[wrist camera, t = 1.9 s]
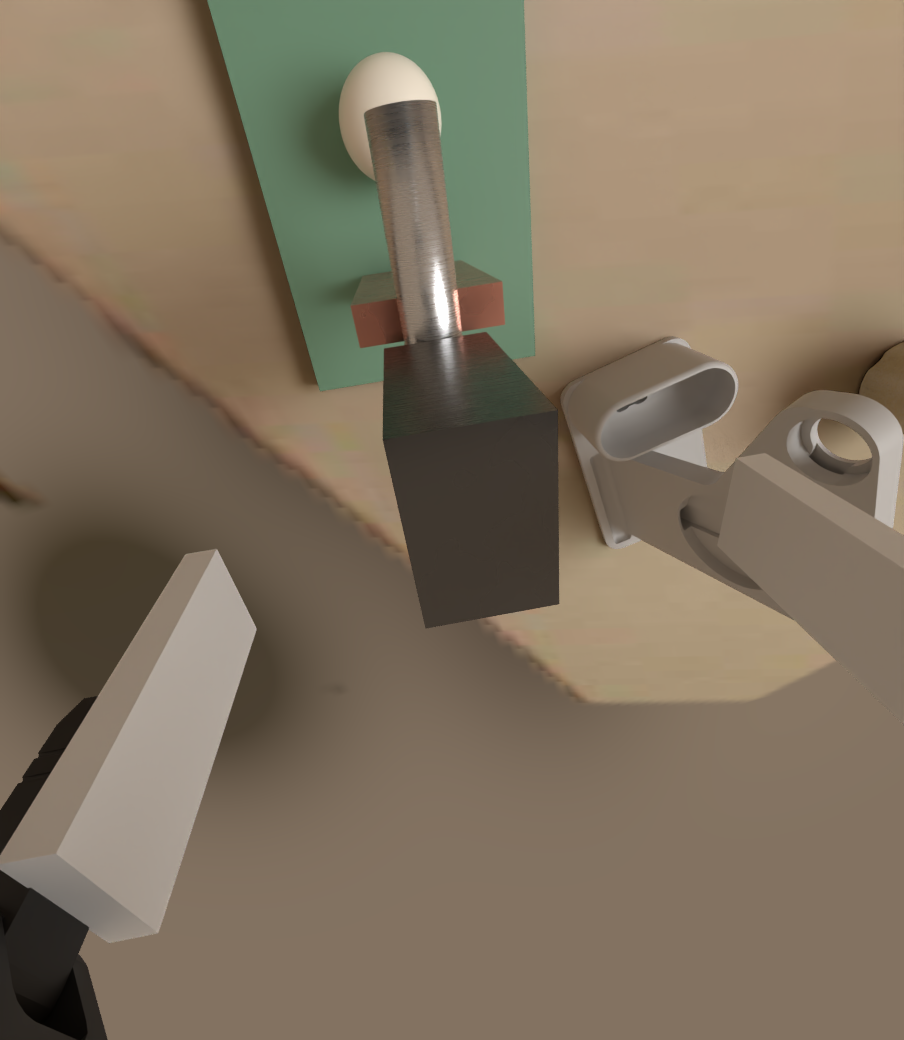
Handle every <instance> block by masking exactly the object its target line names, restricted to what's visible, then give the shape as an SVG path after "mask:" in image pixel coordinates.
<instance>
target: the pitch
mask: <svg viewBox="0 0 904 1040" xmlns="http://www.w3.org/2000/svg"><path fill="white" fill-rule="evenodd" d="M207 1H208V5H209V8H210V12H211V15H212V19H213V22H214V26H215V29H216V33H217V36H218V39H219V43H220V46H221V50H222V53H223V57H224V60H225V64H226V67H227V71H228V74H229V78H230V81H231V85H232V88H233V91H234V95H235V98H236V102H237V105H238V109H239V112H240V116H241V119H242V123H243V126H244V130H245V133H246V137H247V140H248V143H249V147H250V150H251V154H252V157H253V161H254V164H255V168H256V171H257V175H258V178H259V182H260V185H261V189H262V192H263V196H264V199H265V202H266V206H267V209H268V213H269V216H270V220H271V223H272V227H273V230H274V234H275V237H276V241H277V244H278V248H279V251H280V254H281V258H282V261H283V265H284V268H285V272H286V275H287V279H288V282H289V286H290V289H291V293H292V296H293V300H294V303H295V306H296V310H297V313H298V317H299V320H300V324H301V327H302V331H303V334H304V338H305V341H306V345H307V348H308V352H309V355H310V358H311V362H312V365H313V369H314V372H315V376H316V379H317V383H318V386H319V390H320V391H325V390H331V389H337V388H343V387H349V386H355V385H361V384H367V383H373V382H379V381H384V348H390V347H396V346H402V345H404V341H402V342H396V343H390V344H383V345H377V346H371V347H365V348H360V346H359V341H358V337H357V333H356V328H355V324H354V319H353V315H352V311H351V303H352V301H353V298H354V296H355V294H356V291H357V289H358V286H359V284H360V281H361V279H362V277H363V276H365V275H371V274H377V273H384V272H390V271H391V266H390V260H389V255H388V249H387V244H386V238H385V232H384V227H383V221H382V216H381V210H380V204H379V199H378V193H377V188H376V182H375V181H374V180H373V179H371V178H369V177H368V176H367V175H365V174H364V173H363V172H362V171H361V170H360V169H359V168H358V167H357V166H356V164H355V163H354V162H353V160H352V159H351V157H350V155H349V154H348V151H347V149H346V147H345V145H344V142H343V139H342V135H341V131H340V125H339V102H340V95H341V92H342V88H343V86H344V83H345V81H346V79H347V77H348V75H349V74H350V72H351V71H352V69H353V68H354V67H355V66H356V65H357V64H358V63H359V62H360V61H361V60H363V59H364V58H366V57H368V56H370V55H372V54H375V53H380V52H392V53H397V54H400V55H402V56H404V57H406V58H408V59H410V60H411V61H413V62H414V63H415V64H416V65H417V66H418V67H420V68H421V70H422V71H423V72H424V73H425V74H426V76H427V77H428V79H429V80H430V82H431V84H432V86H433V88H434V90H435V93H436V95H437V98H438V102H439V105H440V111H441V122H442V126H441V137H440V139H441V148H442V157H443V166H444V175H445V184H446V193H447V201H448V210H449V219H450V228H451V237H452V246H453V255H454V261H459V260H462V261H464V262H466V263H467V264H469V265H471V266H473V267H475V268H477V269H479V270H481V271H483V272H485V273H487V274H489V275H491V276H493V277H495V278H497V279H499V280H501V281H502V283H503V299H504V315H505V325H500V326H493V327H487V328H481V329H475V330H469V331H463V332H462V335H469V334H475V333H482V332H487V333H488V334H489V335H490V336H491V338H492V339H493V340H494V341H495V342H496V343H497V344H498V345H499V346H500V347H501V348H502V350H503V351H504V352H505V353H506V354H507V355H508V356H509V357H510V358H511V359H518V358H524V357H530V356H535V335H534V304H533V273H532V241H531V210H530V179H529V148H528V117H527V86H526V55H525V24H524V0H207Z"/></svg>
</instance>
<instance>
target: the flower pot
mask: <svg viewBox="0 0 904 1040" xmlns="http://www.w3.org/2000/svg"><path fill="white" fill-rule="evenodd" d="M859 395H862V396H865V397H868V398H870V399H873V400H875V401H877V402H878V403H880V404H881V405H883V406H884V407H886V408H887V409H888V410H889V411H890V412H891V413H892V414H893V415H894V416H895V418H896V419H897V420H898V422H899V424H900V426H901V428H902V432H903V434H904V342H902V343H900V344H898V345H896V346H894V347H892V348H891V349H889V350H888V351H886V352H885V353H884V355H883V357H882V358H881V360H880V361H879V362H878V363H877V364H875V365H874V366H873V367H872V368H870V369H869V370H868V372H867V373H866V375H865V377H864V379H863V381H862V383H861V387H860V391H859Z"/></svg>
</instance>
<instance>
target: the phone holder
mask: <svg viewBox="0 0 904 1040" xmlns="http://www.w3.org/2000/svg"><path fill="white" fill-rule="evenodd" d="M737 391H738V379H737V375H736V373H735V371H734V370H733V369H732V368H731V367H730V366H729V365H728V364H726V363H724V362H721V361H719V360H717V359H714V358H712V357H709V356H707V355H705V354H702V353H700V352H697V351H695V350H693V349H690V346H689V344H688V343H687V342H686V341H685V340H683V339H680V338H678V337H667V338H664V339H662V340H660V341H658V342H656V343H653V344H651V345H649V346H647V347H645V348H643V349H641V350H638V351H636V352H634V353H632V354H630V355H628V356H625V357H623V358H621V359H619V360H617V361H615V362H612V363H610V364H608V365H606V366H604V367H602V368H600V369H597V370H595V371H593V372H591V373H589V374H587V375H584V376H582V377H580V378H578V379H576V380H574V381H572V382H570V383H569V384H568V385H567V386H566V387H565V388H564V390H563V392H562V394H561V406H562V409H563V412H564V415H565V418H566V422H567V425H568V428H569V431H570V434H571V437H572V441H573V444H574V447H575V450H576V453H577V456H578V460H579V463H580V466H581V469H582V472H583V475H584V478H585V482H586V485H587V488H588V491H589V494H590V497H591V501H592V504H593V507H594V510H595V513H596V516H597V520H598V523H599V526H600V529H601V532H602V535H603V538H604V540H605V542H606V543H607V545H608V546H609V547H611V548H613V549H620V548H624V547H626V546H629V545H631V544H634V543H636V542H638V541H641V540H642V541H644V542H646V543H648V544H650V545H652V546H654V547H656V548H658V549H660V550H661V551H663V552H665V553H667V554H669V555H671V556H673V557H675V558H677V559H679V560H680V561H682V562H684V563H686V564H688V565H690V566H692V567H694V568H696V569H698V570H699V571H701V572H703V573H705V574H707V575H709V576H711V577H713V578H715V579H717V580H718V581H720V582H722V583H724V584H726V585H728V586H730V587H732V588H734V589H736V590H737V591H739V592H741V593H743V594H745V595H747V596H749V597H751V598H753V599H755V600H757V601H758V602H760V603H762V604H764V605H766V606H768V607H770V608H772V609H774V610H776V611H777V612H779V613H781V614H783V615H785V616H787V617H789V618H791V619H793V618H792V617H791V616H790V615H788V614H787V613H786V612H785V611H784V610H783V609H782V608H781V607H780V606H779V605H778V604H777V603H776V602H775V601H774V600H773V599H772V598H771V597H770V596H769V595H768V594H767V593H766V592H765V591H764V590H763V589H761V588H760V587H759V586H758V585H757V584H756V583H755V582H754V581H753V580H752V579H751V578H750V577H749V576H748V575H747V574H746V573H745V572H744V571H743V570H742V569H741V568H740V567H739V566H738V565H737V564H735V563H734V562H733V561H732V560H731V559H730V558H729V557H728V556H727V555H726V554H725V553H724V552H723V551H722V550H721V549H720V548H719V547H718V546H717V544H718V539H719V535H720V530H721V525H722V521H723V516H724V511H725V507H726V502H727V497H728V493H729V488H730V483H731V479H732V474H733V469H734V464H735V462H734V463H733V464H732V465H731V466H730V467H729V468H728V469H727V470H726V472H719V471H716V470H713V469H710V468H707V463H706V455H705V448H704V441H703V434H702V429H703V428H705V427H708V426H710V425H712V424H714V423H715V422H717V421H718V420H719V419H721V418H722V417H723V416H724V415H725V414H726V413H727V412H728V410H729V409H730V408H731V406H732V404H733V403H734V401H735V398H736V395H737ZM821 418H824V419H830V420H834V421H837V422H840V423H842V424H845V425H846V426H848V427H850V428H852V429H853V430H854V431H856V432H857V433H858V434H859V435H860V436H861V437H862V438H863V439H864V440H865V442H866V443H867V444H868V446H869V448H870V450H871V453H872V458H869V459H866V460H859V461H858V460H848V459H844V458H841V457H839V456H837V455H835V454H833V453H832V452H830V451H829V450H828V449H827V448H826V447H825V446H824V445H823V444H822V443H821V441H820V439H819V436H818V432H817V427H818V423H819V421H820V419H821ZM902 449H903V432H902V428H901V426H900V424H899V422H898V420H897V419H896V418H895V416H894V415H893V414H892V413H891V412H890V411H889V410H888V409H887V408H886V407H884V406H883V405H881V404H880V403H878V402H877V401H875V400H873V399H870V398H868V397H865V396H862V395H858V394H853V393H845V392H837V391H830V390H817V391H812V392H809V393H806V394H805V395H803V396H801V397H800V398H799V399H797V400H796V401H795V402H793V403H792V404H791V405H789V406H788V407H787V408H785V409H784V410H783V411H781V412H780V413H779V414H777V415H776V416H775V417H774V419H773V420H772V421H771V422H770V423H769V424H768V425H767V426H766V427H765V428H764V430H763V431H762V432H761V433H760V434H759V435H758V436H757V437H756V438H755V440H754V441H753V442H752V443H751V444H750V445H749V446H748V447H747V448H746V449H745V451H744V452H743V453H742V454H741V455H740V456H739V457H745V456H750V455H756V454H762V453H766V454H768V455H769V456H771V457H773V458H774V459H776V460H778V461H780V462H781V463H783V464H785V465H786V466H788V467H790V468H791V469H793V470H795V471H796V472H798V473H800V474H801V475H803V476H805V477H806V478H808V479H810V480H811V481H813V482H815V483H816V484H818V485H820V486H822V487H823V488H825V489H827V490H828V491H830V492H832V493H833V494H835V495H837V496H838V497H840V498H842V499H843V500H845V501H847V502H848V503H850V504H852V505H853V506H855V507H857V508H859V509H860V510H862V511H864V512H865V513H867V514H869V515H870V516H872V517H874V518H875V519H877V520H879V521H880V522H882V523H884V524H885V525H887V526H889V527H890V528H892V529H893V523H894V515H895V507H896V499H897V490H898V482H899V474H900V466H901V458H902ZM739 457H738V458H739ZM793 620H794V619H793Z"/></svg>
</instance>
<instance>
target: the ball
mask: <svg viewBox="0 0 904 1040" xmlns="http://www.w3.org/2000/svg"><path fill="white" fill-rule="evenodd" d="M409 100H432V101H435V102H436V103H437V112H438V121H439V130H440V137H441V126H442V122H441V111H440V105H439V102H438V98H437V95H436V93H435V90H434V88H433V86H432V84H431V82H430V80H429V79H428V77H427V76H426V74H425V73H424V72H423V71H422V70H421V68H420V67H418V66H417V65H416V64H415V63H414V62H413V61H411V60H410V59H408V58H406V57H404V56H402V55H400V54H397V53H392V52H380V53H375V54H372V55H370V56H368V57H366V58H364V59H363V60H361V61H360V62H359V63H358V64H357V65H356V66H355V67H354V68H353V69H352V71H351V72H350V74H349V75H348V77H347V79H346V81H345V83H344V86H343V88H342V92H341V95H340V102H339V125H340V131H341V135H342V139H343V142H344V145H345V147H346V149H347V151H348V154H349V155H350V157H351V159H352V160H353V162H354V163H355V164H356V166H357V167H358V168H359V169H360V170H361V171H362V172H363V173H364V174H365V175H367V176H368V177H369V178H371V179H373V180H374V181H375V176H374V171H373V165H372V160H371V154H370V148H369V143H368V137H367V132H366V126H365V120H364V113H365V112H366V111H368V110H370V109H372V108H375V107H378V106H381V105H385V104H390V103H395V102H401V101H409Z"/></svg>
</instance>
